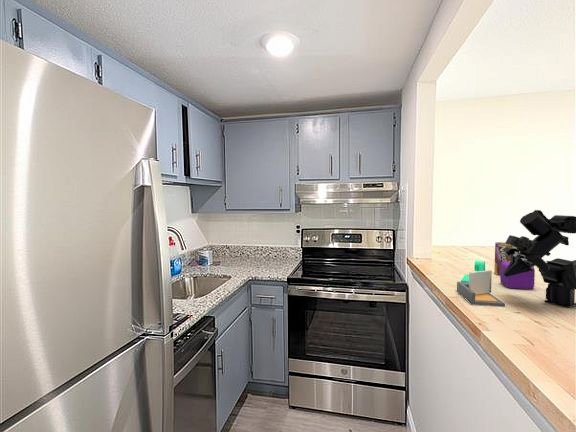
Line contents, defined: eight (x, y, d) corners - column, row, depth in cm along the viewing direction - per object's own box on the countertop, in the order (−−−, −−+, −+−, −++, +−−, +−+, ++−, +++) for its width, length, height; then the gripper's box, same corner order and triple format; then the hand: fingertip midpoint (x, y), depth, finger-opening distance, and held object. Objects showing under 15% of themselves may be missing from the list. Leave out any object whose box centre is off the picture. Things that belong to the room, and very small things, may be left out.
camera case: (483, 291, 119) (484, 281, 119) (505, 306, 103) (505, 294, 103) (455, 290, 121) (455, 280, 121) (471, 304, 105) (472, 292, 105)
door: (491, 292, 113) (492, 270, 113) (471, 295, 110) (471, 273, 110) (488, 291, 114) (489, 270, 114) (468, 294, 111) (468, 272, 111)
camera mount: (464, 280, 137) (465, 257, 136) (485, 283, 132) (486, 259, 132) (460, 286, 127) (461, 261, 127) (482, 289, 123) (483, 263, 122)
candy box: (518, 277, 140) (519, 244, 139) (510, 278, 139) (512, 244, 138) (501, 273, 149) (502, 241, 148) (493, 274, 148) (494, 242, 147)
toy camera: (517, 281, 134) (518, 258, 134) (540, 290, 121) (541, 265, 120) (491, 281, 135) (491, 258, 135) (510, 290, 122) (511, 264, 121)
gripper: (510, 225, 115) (476, 254, 117) (539, 230, 96) (498, 264, 99) (534, 247, 113) (499, 275, 116) (568, 256, 95) (526, 289, 98)
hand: (504, 275), depth 107 cm, fingers closed
